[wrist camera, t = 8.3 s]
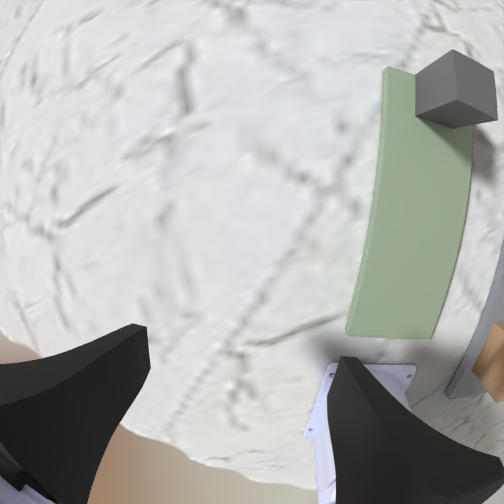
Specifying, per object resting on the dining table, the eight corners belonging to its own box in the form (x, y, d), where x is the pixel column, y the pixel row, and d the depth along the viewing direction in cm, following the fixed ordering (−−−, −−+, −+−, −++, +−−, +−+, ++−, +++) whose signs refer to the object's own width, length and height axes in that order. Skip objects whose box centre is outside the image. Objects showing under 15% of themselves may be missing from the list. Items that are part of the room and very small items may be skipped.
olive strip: (424, 333, 18) (458, 378, 13) (344, 328, 19) (363, 382, 13) (465, 101, 13) (515, 86, 8) (382, 70, 14) (419, 34, 8)
